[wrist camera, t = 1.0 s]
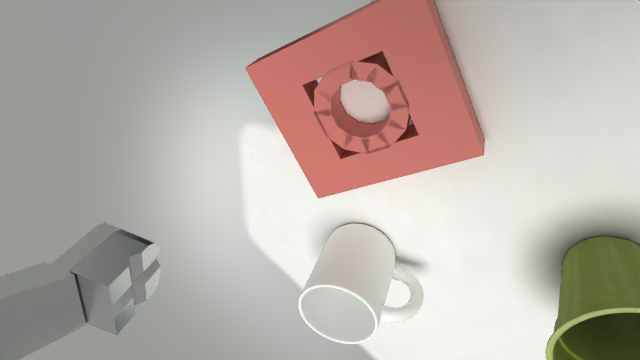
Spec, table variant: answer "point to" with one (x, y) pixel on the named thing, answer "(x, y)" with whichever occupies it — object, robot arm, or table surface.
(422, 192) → the table surface
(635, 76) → the table surface
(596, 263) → the plant pot
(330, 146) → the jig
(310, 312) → the mug
